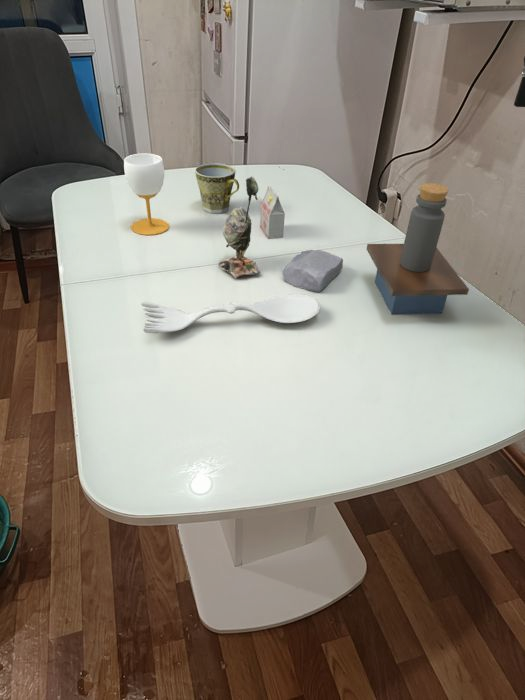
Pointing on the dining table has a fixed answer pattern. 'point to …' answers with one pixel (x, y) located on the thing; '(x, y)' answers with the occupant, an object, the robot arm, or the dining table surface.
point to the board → (415, 273)
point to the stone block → (312, 269)
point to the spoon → (272, 309)
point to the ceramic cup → (216, 186)
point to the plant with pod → (240, 236)
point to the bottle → (424, 228)
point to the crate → (410, 301)
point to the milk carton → (272, 215)
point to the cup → (146, 188)
